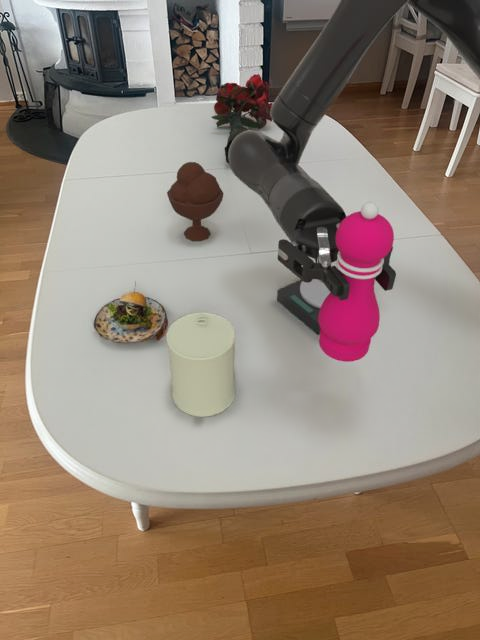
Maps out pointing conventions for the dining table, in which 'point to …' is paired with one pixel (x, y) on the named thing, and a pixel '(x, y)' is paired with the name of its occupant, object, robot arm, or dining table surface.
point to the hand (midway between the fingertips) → (368, 288)
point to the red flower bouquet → (242, 107)
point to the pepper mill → (356, 285)
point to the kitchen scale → (304, 301)
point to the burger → (131, 319)
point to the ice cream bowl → (195, 198)
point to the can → (202, 363)
